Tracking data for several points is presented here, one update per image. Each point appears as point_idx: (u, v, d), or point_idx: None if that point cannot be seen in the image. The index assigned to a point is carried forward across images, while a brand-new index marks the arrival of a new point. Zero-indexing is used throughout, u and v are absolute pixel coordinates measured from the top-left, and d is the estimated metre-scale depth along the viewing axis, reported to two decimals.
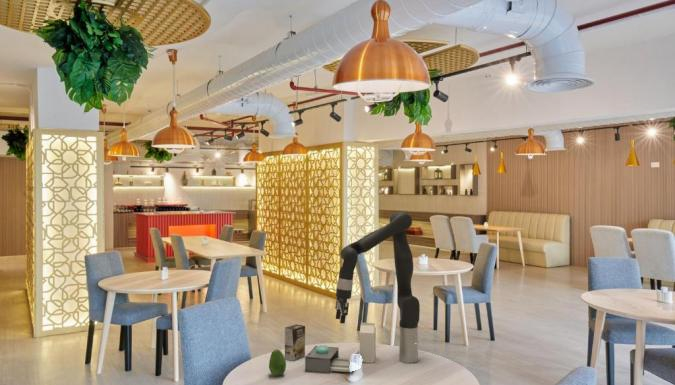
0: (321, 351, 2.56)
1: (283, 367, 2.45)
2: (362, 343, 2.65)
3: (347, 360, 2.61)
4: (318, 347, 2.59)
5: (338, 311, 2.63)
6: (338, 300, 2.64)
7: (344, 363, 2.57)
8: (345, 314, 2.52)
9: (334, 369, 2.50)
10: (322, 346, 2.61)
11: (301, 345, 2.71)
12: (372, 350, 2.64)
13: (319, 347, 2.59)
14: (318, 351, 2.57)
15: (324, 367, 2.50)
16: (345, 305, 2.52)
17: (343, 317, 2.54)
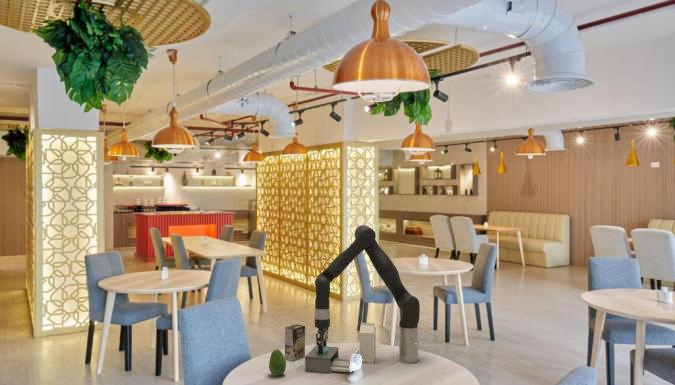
0: None
1: (283, 367, 2.45)
2: (362, 343, 2.65)
3: (347, 360, 2.61)
4: None
5: (323, 341, 2.62)
6: None
7: (344, 363, 2.57)
8: (319, 345, 2.53)
9: (334, 369, 2.50)
10: None
11: (301, 345, 2.71)
12: (372, 350, 2.64)
13: None
14: None
15: (324, 367, 2.50)
16: (317, 336, 2.53)
17: None
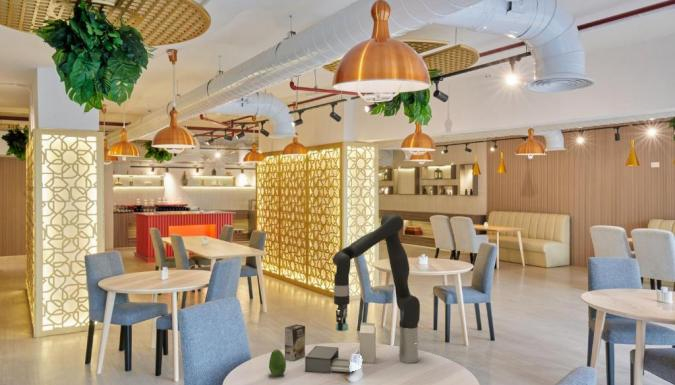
0: None
1: (283, 367, 2.45)
2: (362, 343, 2.65)
3: (347, 360, 2.61)
4: None
5: (342, 319, 2.60)
6: None
7: (344, 363, 2.57)
8: (339, 321, 2.51)
9: (334, 369, 2.50)
10: None
11: (301, 345, 2.71)
12: (372, 350, 2.64)
13: None
14: None
15: (324, 367, 2.50)
16: (337, 313, 2.51)
17: None
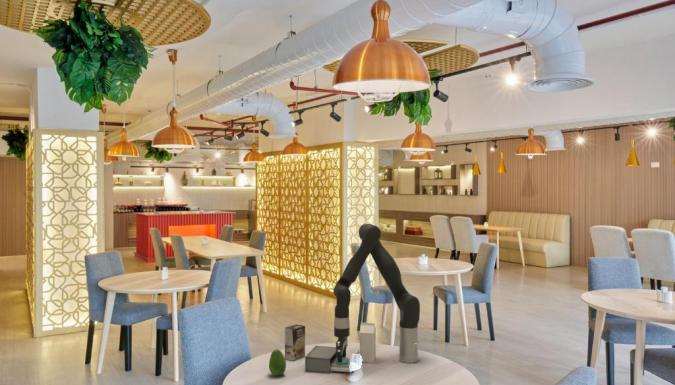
0: (341, 363, 2.54)
1: (283, 367, 2.45)
2: (362, 343, 2.65)
3: None
4: None
5: None
6: None
7: None
8: (338, 353, 2.50)
9: (334, 369, 2.50)
10: None
11: (301, 345, 2.71)
12: (372, 350, 2.64)
13: None
14: (338, 363, 2.55)
15: (324, 367, 2.50)
16: (337, 344, 2.50)
17: (339, 356, 2.52)
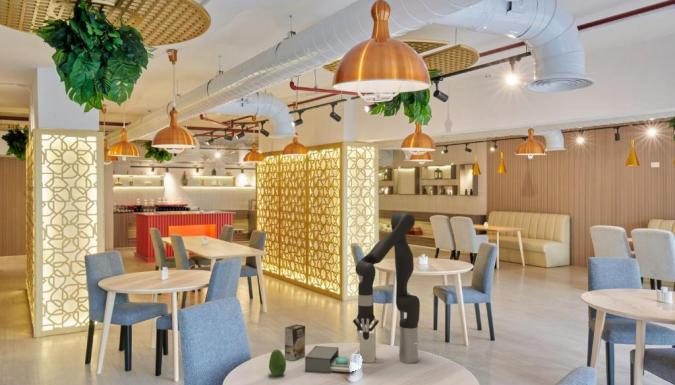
0: (341, 363, 2.54)
1: (283, 367, 2.45)
2: (362, 343, 2.65)
3: None
4: (338, 358, 2.57)
5: None
6: None
7: None
8: (359, 328, 2.55)
9: (334, 369, 2.50)
10: (341, 357, 2.58)
11: (301, 345, 2.71)
12: (372, 350, 2.64)
13: (339, 358, 2.57)
14: (338, 363, 2.55)
15: (324, 367, 2.50)
16: None
17: None
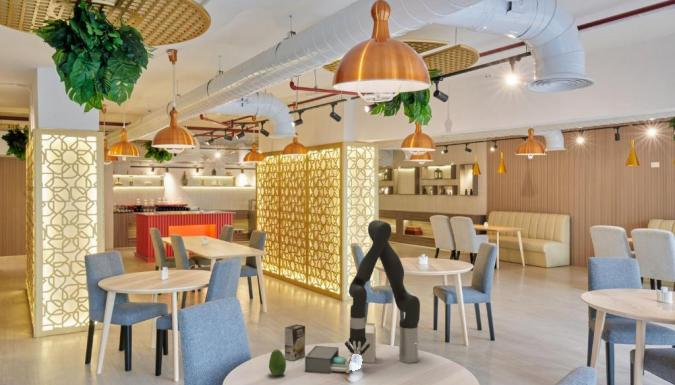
0: (338, 362, 2.55)
1: (283, 367, 2.45)
2: None
3: None
4: (335, 358, 2.57)
5: None
6: None
7: None
8: (350, 351, 2.56)
9: (331, 369, 2.51)
10: (339, 357, 2.59)
11: (301, 345, 2.71)
12: (372, 350, 2.64)
13: (336, 358, 2.57)
14: (335, 362, 2.55)
15: (324, 367, 2.50)
16: None
17: None
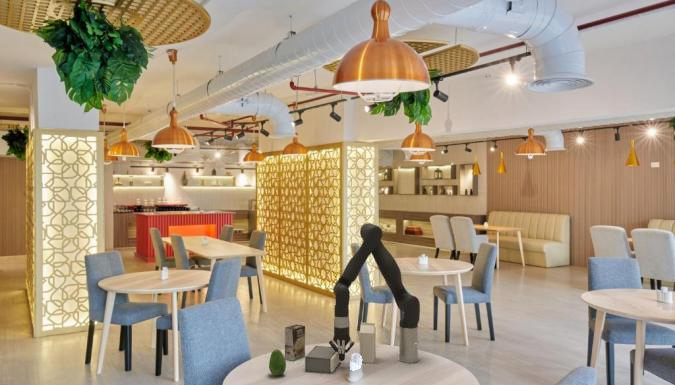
0: None
1: (283, 367, 2.45)
2: (362, 343, 2.65)
3: None
4: None
5: None
6: None
7: None
8: None
9: None
10: None
11: (301, 345, 2.71)
12: (372, 350, 2.64)
13: None
14: None
15: (324, 367, 2.50)
16: None
17: None
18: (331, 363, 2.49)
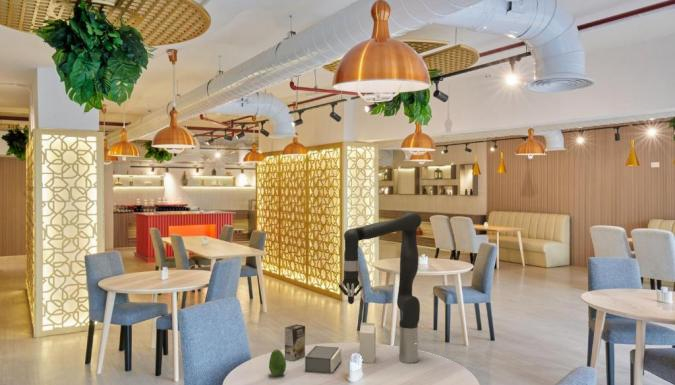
0: None
1: (283, 367, 2.45)
2: (362, 343, 2.65)
3: None
4: None
5: None
6: None
7: None
8: None
9: None
10: None
11: (301, 345, 2.71)
12: (372, 350, 2.64)
13: None
14: None
15: (324, 367, 2.50)
16: None
17: None
18: (331, 363, 2.49)
